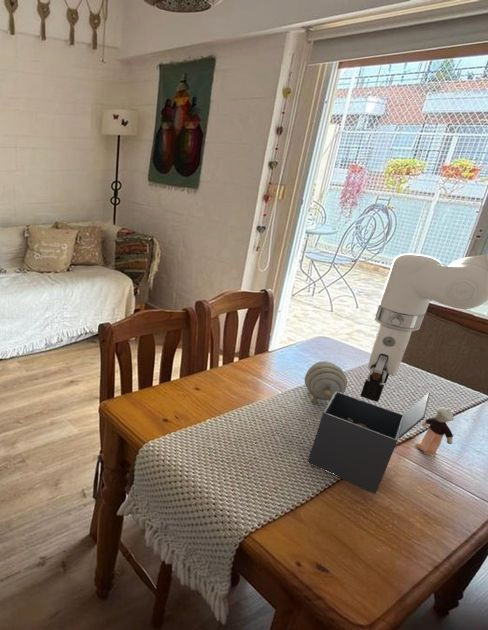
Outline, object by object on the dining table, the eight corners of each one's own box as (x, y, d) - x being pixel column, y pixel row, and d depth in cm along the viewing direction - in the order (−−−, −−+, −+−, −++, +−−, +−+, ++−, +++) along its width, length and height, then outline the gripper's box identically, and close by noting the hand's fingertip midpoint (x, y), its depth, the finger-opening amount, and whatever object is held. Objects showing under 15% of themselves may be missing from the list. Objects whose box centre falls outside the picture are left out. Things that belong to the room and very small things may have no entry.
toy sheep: (335, 387, 133) (345, 355, 129) (347, 419, 119) (359, 385, 114) (297, 381, 136) (305, 349, 132) (304, 411, 122) (314, 377, 117)
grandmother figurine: (406, 443, 110) (424, 401, 105) (417, 440, 111) (435, 398, 106) (438, 464, 104) (458, 420, 99) (449, 461, 105) (470, 417, 100)
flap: (405, 412, 97) (406, 413, 97) (397, 437, 89) (399, 438, 89) (428, 392, 93) (430, 393, 93) (422, 416, 85) (424, 417, 85)
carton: (384, 465, 103) (405, 415, 97) (375, 494, 95) (397, 440, 89) (320, 439, 111) (335, 391, 105) (307, 463, 103) (322, 412, 97)
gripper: (417, 336, 79) (387, 414, 86) (426, 309, 91) (399, 380, 98) (369, 324, 84) (344, 399, 91) (383, 300, 96) (361, 368, 103)
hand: (373, 389), depth 94 cm, fingers open, 9 cm apart
